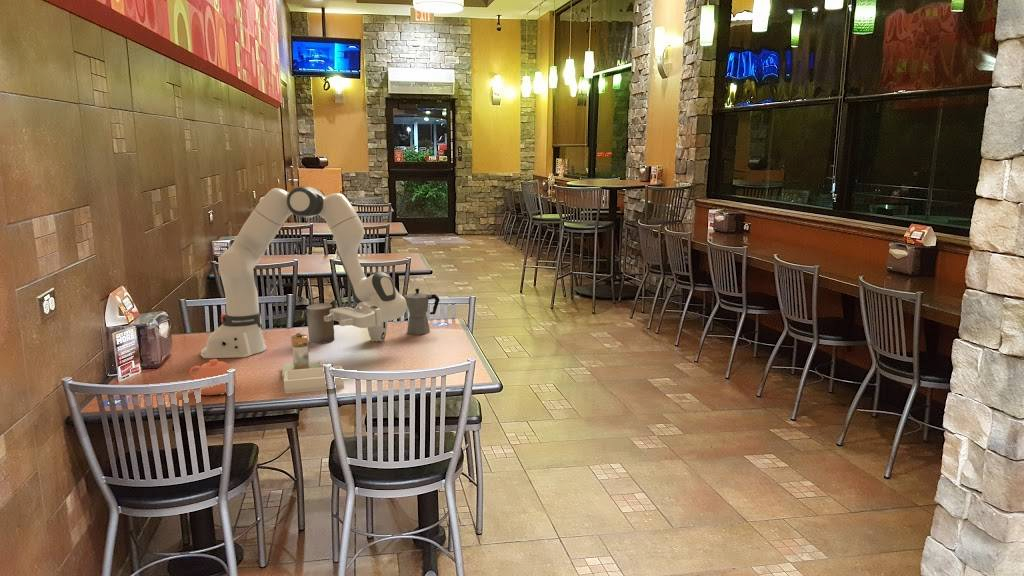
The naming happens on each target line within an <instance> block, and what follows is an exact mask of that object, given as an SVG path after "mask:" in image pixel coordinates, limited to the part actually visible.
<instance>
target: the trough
mask: <svg viewBox="0 0 1024 576" xmlns="http://www.w3.org/2000/svg"><path fill="white" fill-rule="evenodd" d="M323 367H324V366H322V367H321V366H320V368H309V369H297V370H286V371H285V375H284V380H283V385H284V394H295V393H297V394H298V393H306V392H313V391H314V392H316V391H325V390H326V384H325V377H324V371H323ZM333 368H335V369H342V370H343V365H334V366H333ZM344 380H345V379H341V378H335V385H336V388H337V389H345V381H344ZM337 389H336V390H337ZM326 391H327V390H326Z"/></svg>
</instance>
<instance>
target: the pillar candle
mask: <svg viewBox="0 0 1024 576" xmlns="http://www.w3.org/2000/svg"><path fill="white" fill-rule="evenodd" d="M331 309H333V304H330V303H325V302H324V303H323V302H322V303H321V302H319V303H315V304H310V305H308V306H306V317H307V331H308V342H309V341H310V342H309V343H312V344H315V343H321V344H326V343H331V342H334V341H335V339H336V338H335V328H334V327H335V326H334V320H331V321H328V322H326V321H324V316H328V315H329V311H330V310H331Z"/></svg>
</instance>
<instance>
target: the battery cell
mask: <svg viewBox="0 0 1024 576" xmlns="http://www.w3.org/2000/svg"><path fill="white" fill-rule="evenodd" d="M290 339H291V349H292V351H291V352H292V353H291V354H292V364H293V367H294V370H297V369H309V363H310V359H309V336H308V335H307V334H303V332H296V334H294V335H292V336H291V337H290Z"/></svg>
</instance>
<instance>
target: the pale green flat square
mask: <svg viewBox="0 0 1024 576" xmlns="http://www.w3.org/2000/svg"><path fill="white" fill-rule="evenodd" d="M320 367H321V361H312V362H310V361H309V368H320ZM286 370H294V367H293V363H288V364H286V363H285V364H283V365H282V372H281V380H282V381H284V375H285V371H286Z"/></svg>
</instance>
